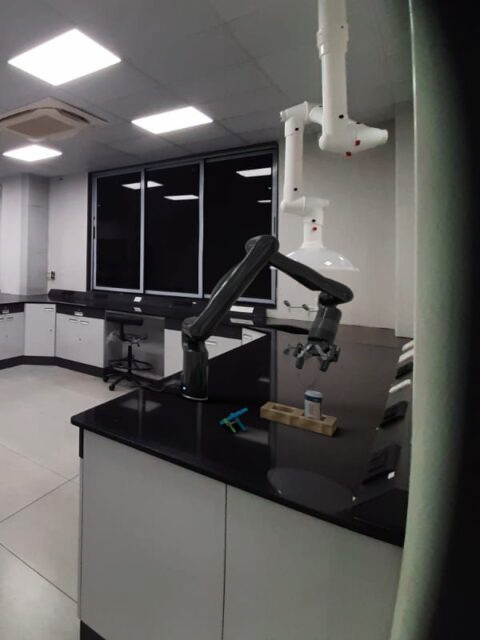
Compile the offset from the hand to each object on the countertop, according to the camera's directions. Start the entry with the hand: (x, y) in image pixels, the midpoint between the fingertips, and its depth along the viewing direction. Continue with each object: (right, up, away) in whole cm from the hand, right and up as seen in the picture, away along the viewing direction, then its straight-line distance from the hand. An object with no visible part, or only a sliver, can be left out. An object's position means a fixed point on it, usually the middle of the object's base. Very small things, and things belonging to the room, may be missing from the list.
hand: (310, 369), depth 148 cm
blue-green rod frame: (-36, -17, -11) cm, 41 cm away
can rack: (-9, -18, -5) cm, 20 cm away
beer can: (-6, -18, -8) cm, 20 cm away
